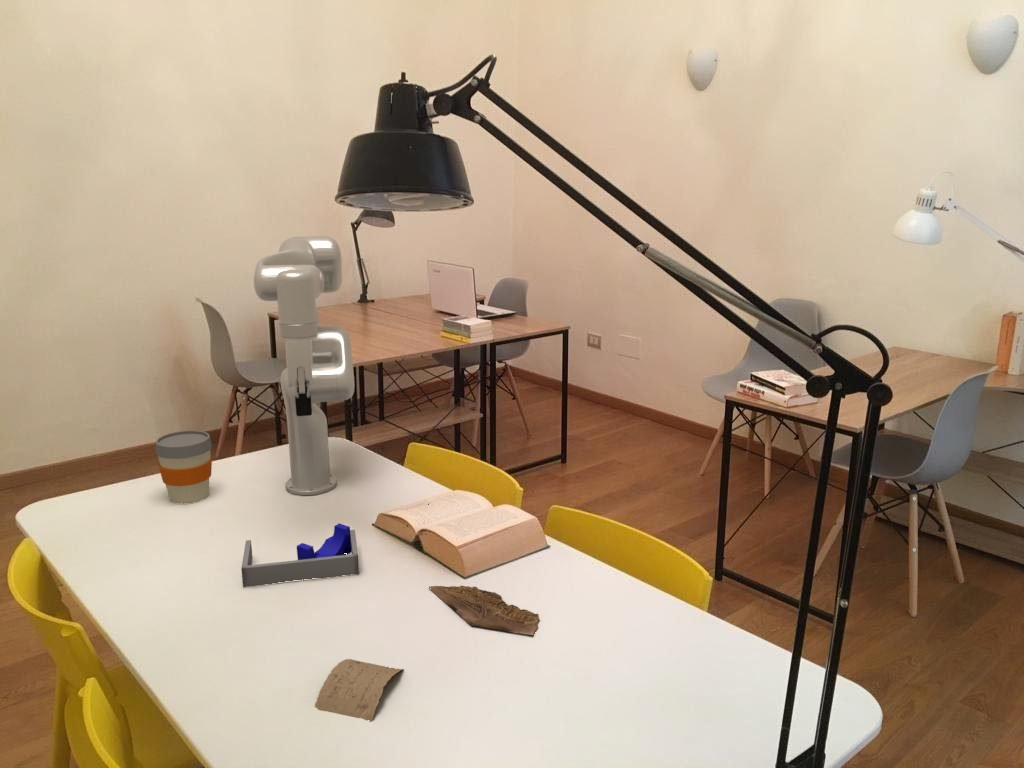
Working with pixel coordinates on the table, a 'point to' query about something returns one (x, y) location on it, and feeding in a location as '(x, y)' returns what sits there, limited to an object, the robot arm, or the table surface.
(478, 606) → the wooden fragment
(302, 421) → the robot arm
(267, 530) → the table surface
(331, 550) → the blue curved cradle
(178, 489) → the reusable coffee cup
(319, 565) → the u-shaped bracket
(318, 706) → the brown curved piece
